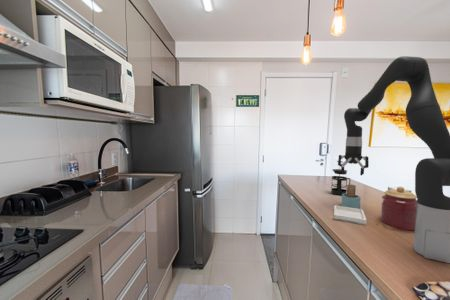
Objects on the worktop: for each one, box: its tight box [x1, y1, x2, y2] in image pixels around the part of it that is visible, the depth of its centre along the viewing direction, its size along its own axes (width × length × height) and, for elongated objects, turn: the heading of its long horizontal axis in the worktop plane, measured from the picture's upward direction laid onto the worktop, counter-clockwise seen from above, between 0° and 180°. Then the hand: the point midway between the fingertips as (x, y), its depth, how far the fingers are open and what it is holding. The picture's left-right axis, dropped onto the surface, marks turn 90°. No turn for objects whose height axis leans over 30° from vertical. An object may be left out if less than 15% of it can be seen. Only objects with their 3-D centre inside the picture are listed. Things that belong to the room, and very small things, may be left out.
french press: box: [330, 160, 351, 197], centre depth 138 cm, size 12×9×23 cm
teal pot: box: [341, 192, 361, 209], centre depth 114 cm, size 9×9×7 cm
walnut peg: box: [346, 184, 357, 198], centre depth 113 cm, size 4×4×12 cm
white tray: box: [333, 205, 368, 226], centre depth 102 cm, size 15×13×2 cm
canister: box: [380, 186, 417, 231], centre depth 92 cm, size 13×13×18 cm
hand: (352, 174), depth 113 cm, fingers open, 8 cm apart
